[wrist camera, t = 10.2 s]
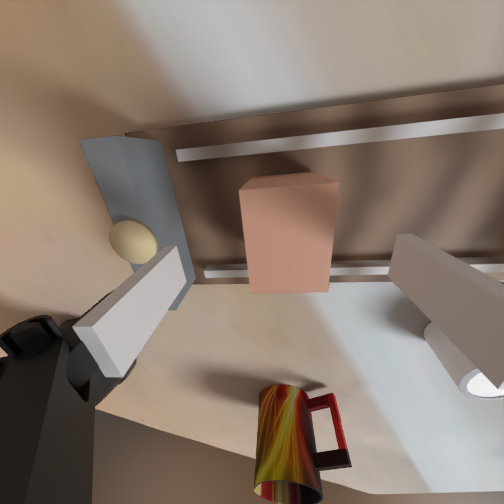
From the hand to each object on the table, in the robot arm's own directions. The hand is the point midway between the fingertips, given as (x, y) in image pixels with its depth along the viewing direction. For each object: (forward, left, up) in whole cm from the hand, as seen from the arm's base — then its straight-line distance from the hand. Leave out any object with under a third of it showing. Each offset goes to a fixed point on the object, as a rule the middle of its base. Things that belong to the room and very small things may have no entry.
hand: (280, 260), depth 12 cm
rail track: (+7, 0, -11) cm, 13 cm away
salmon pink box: (+1, 0, -10) cm, 10 cm away
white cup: (+22, -18, -11) cm, 31 cm away
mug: (+1, -35, -11) cm, 37 cm away
